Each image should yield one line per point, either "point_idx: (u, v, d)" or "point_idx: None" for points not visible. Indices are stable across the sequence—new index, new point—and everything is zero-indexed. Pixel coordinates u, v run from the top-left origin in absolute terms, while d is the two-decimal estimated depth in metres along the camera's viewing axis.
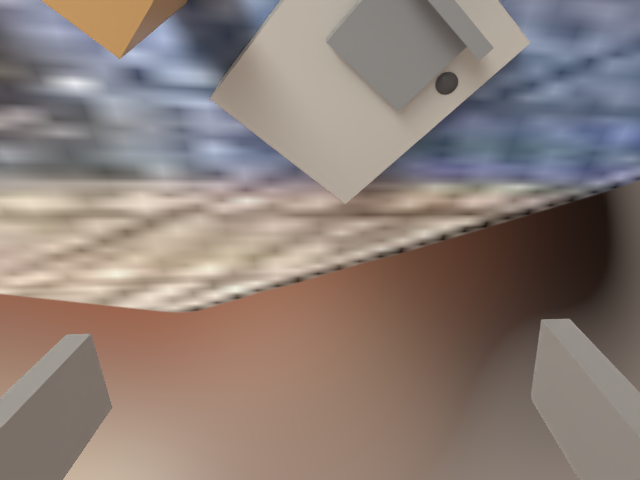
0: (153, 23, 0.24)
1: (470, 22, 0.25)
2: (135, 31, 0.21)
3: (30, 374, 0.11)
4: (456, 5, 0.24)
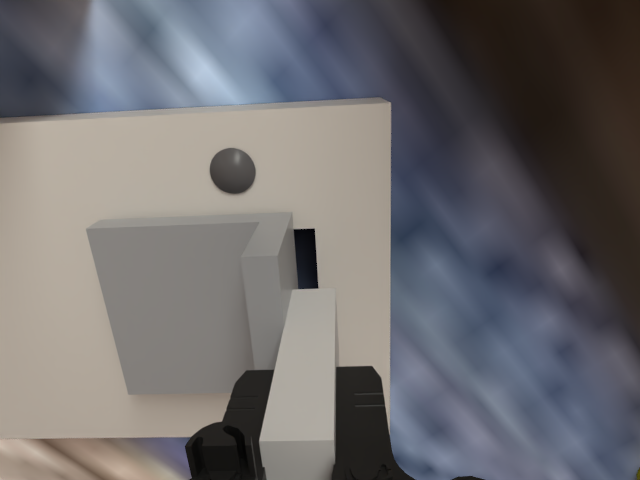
0: None
1: None
2: None
3: (291, 317, 0.13)
4: None
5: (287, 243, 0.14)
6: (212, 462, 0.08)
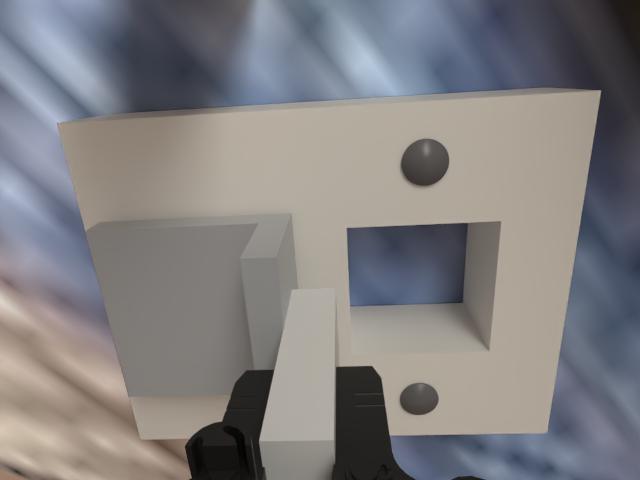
0: None
1: None
2: None
3: (291, 317, 0.13)
4: None
5: (286, 244, 0.14)
6: (211, 462, 0.08)
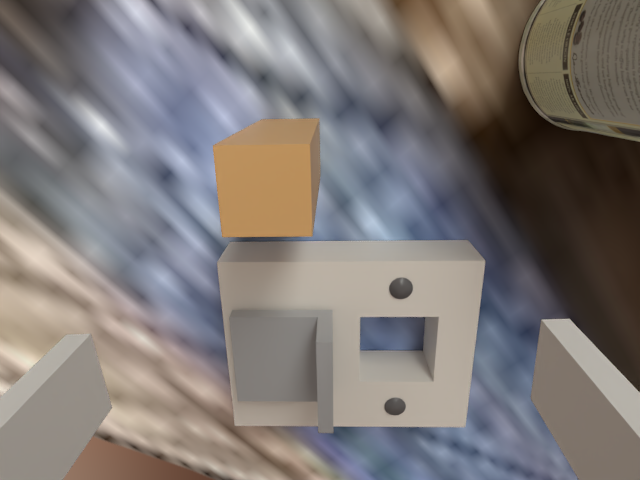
0: None
1: (331, 406, 0.28)
2: (260, 235, 0.19)
3: (30, 374, 0.11)
4: (331, 390, 0.28)
5: None
6: None
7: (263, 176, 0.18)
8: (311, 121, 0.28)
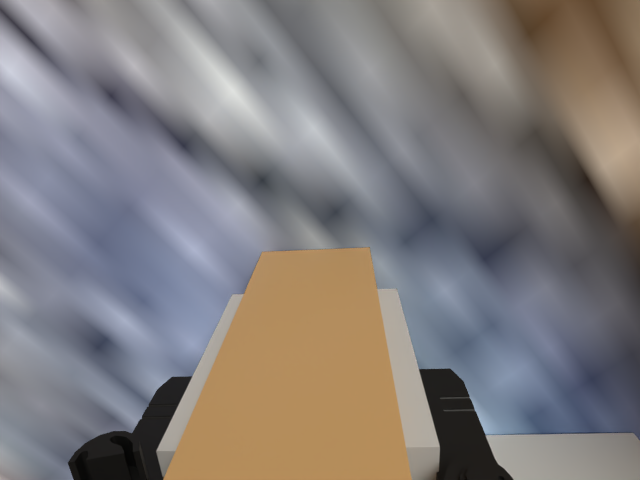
0: None
1: None
2: None
3: (223, 323, 0.13)
4: None
5: None
6: (99, 474, 0.08)
7: None
8: (360, 275, 0.14)
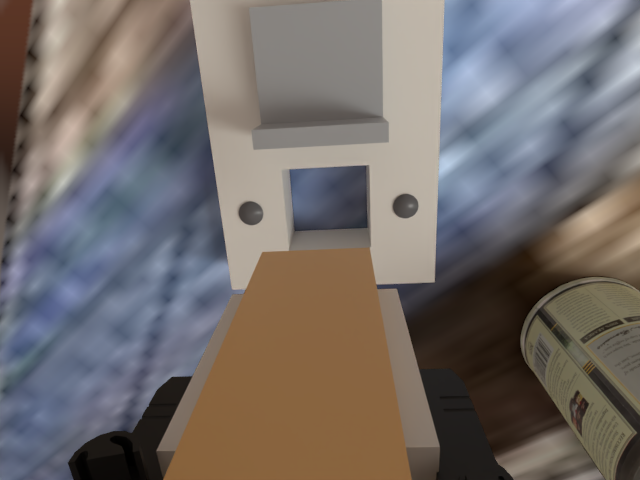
0: None
1: (294, 145, 0.22)
2: None
3: (223, 323, 0.13)
4: (319, 144, 0.22)
5: None
6: (99, 474, 0.08)
7: None
8: (361, 275, 0.14)
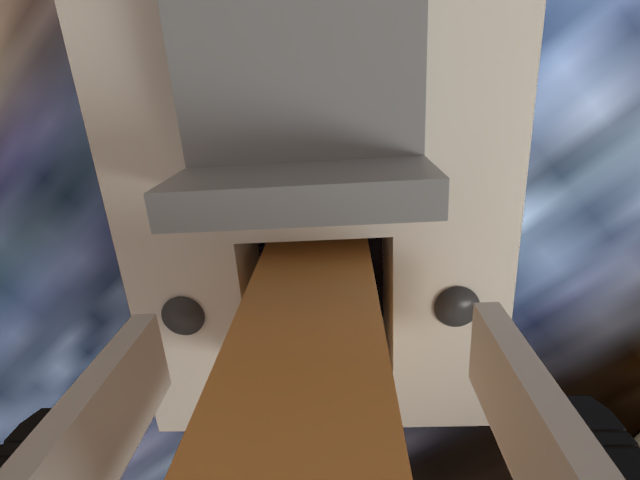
0: None
1: (240, 226, 0.10)
2: None
3: (109, 348, 0.12)
4: (294, 224, 0.10)
5: None
6: None
7: None
8: (356, 242, 0.17)
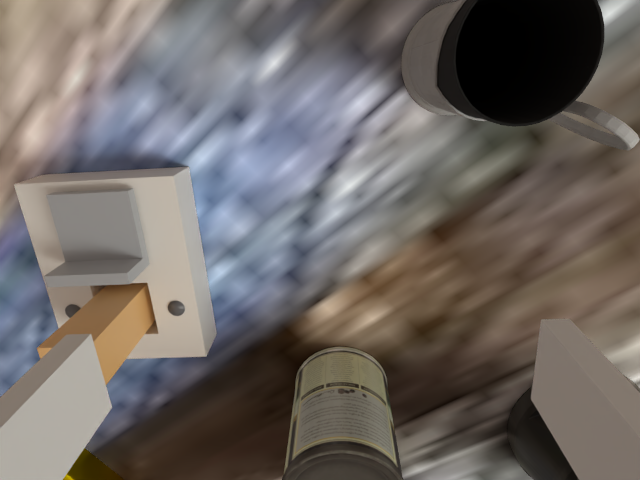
0: None
1: (72, 285, 0.36)
2: None
3: (30, 374, 0.11)
4: (87, 284, 0.35)
5: None
6: None
7: None
8: None
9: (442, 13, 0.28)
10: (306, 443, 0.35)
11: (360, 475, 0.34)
